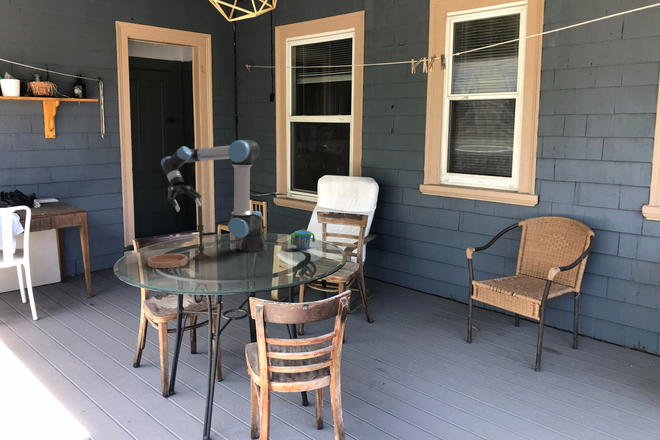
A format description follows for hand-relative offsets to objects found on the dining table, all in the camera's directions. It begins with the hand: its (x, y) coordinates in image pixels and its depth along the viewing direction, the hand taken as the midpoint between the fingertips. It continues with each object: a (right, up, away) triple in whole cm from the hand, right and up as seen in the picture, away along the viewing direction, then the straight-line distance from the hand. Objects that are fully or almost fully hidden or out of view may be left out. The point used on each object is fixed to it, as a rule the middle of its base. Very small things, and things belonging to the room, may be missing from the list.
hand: (189, 209), depth 294 cm
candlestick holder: (+7, -27, -3) cm, 29 cm away
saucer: (-8, -29, -15) cm, 34 cm away
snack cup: (+62, -23, +23) cm, 70 cm away
